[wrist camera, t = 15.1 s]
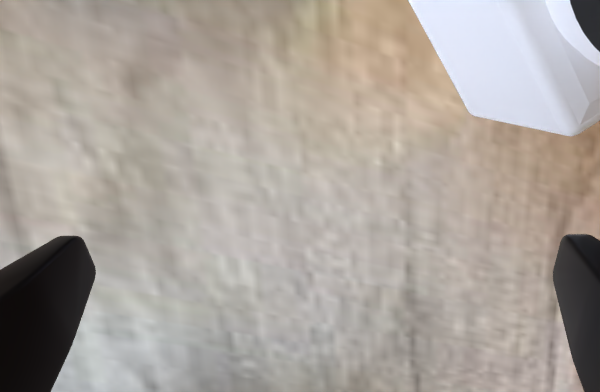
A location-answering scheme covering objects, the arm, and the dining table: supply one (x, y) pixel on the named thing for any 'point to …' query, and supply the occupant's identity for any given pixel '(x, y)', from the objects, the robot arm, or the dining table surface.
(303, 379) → the dining table surface
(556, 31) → the medicine bottle
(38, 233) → the dining table surface
